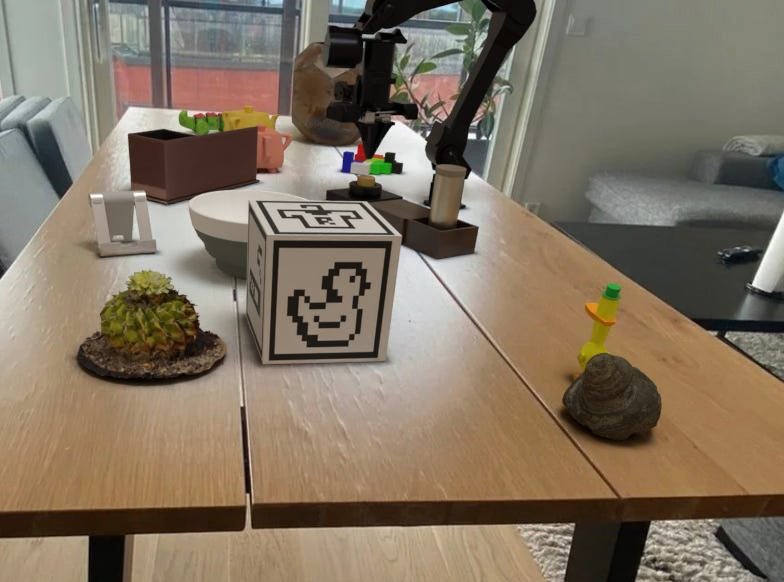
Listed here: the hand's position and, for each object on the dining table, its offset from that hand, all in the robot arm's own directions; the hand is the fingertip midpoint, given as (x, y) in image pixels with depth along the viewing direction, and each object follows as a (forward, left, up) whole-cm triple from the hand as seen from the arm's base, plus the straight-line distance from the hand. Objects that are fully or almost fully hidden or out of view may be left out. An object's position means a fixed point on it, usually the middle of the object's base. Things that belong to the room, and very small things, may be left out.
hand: (368, 159), depth 152 cm
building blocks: (-24, -26, -9) cm, 37 cm away
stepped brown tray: (+7, +23, -9) cm, 26 cm away
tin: (+7, +29, -8) cm, 31 cm away
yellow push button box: (0, 0, -9) cm, 9 cm away
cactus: (+69, +48, -9) cm, 85 cm away
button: (0, 0, -5) cm, 5 cm away
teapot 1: (-6, -55, -9) cm, 56 cm away
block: (+49, +52, -9) cm, 72 cm away
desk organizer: (+26, -23, -9) cm, 36 cm away
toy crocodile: (-8, -78, -9) cm, 79 cm away
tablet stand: (+56, +9, -9) cm, 58 cm away
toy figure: (+27, +77, -9) cm, 82 cm away
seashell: (+32, +86, -9) cm, 92 cm away
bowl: (+42, +26, -9) cm, 50 cm away
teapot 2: (+3, -35, -9) cm, 36 cm away
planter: (-35, -60, -9) cm, 70 cm away
